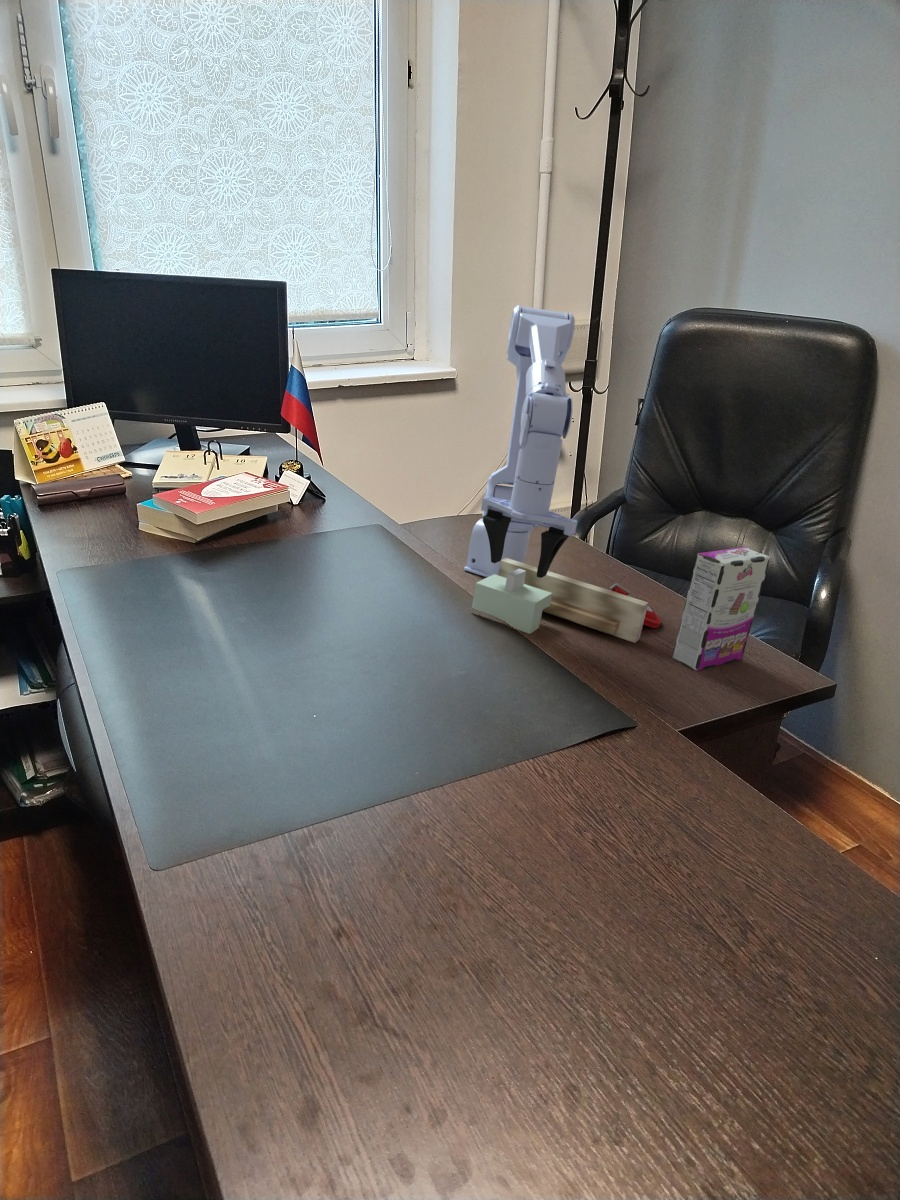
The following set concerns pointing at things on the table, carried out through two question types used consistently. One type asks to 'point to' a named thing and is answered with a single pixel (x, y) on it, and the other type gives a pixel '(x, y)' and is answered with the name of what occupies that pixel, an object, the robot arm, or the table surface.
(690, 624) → the candy bar box
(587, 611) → the wall board
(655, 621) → the tracker holder
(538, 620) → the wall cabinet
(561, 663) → the table surface
